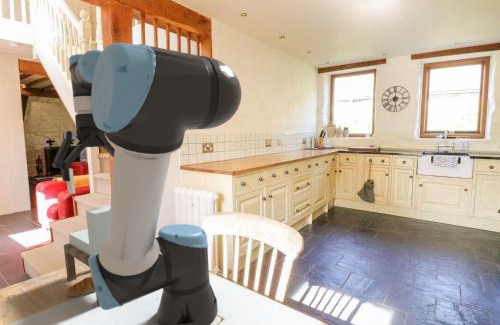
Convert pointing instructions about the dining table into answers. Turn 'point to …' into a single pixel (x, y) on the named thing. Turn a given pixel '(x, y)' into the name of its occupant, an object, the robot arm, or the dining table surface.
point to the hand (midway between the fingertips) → (98, 188)
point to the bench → (70, 262)
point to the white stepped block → (92, 231)
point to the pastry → (82, 287)
